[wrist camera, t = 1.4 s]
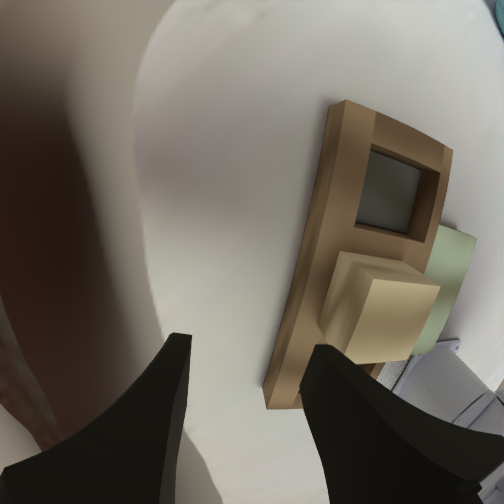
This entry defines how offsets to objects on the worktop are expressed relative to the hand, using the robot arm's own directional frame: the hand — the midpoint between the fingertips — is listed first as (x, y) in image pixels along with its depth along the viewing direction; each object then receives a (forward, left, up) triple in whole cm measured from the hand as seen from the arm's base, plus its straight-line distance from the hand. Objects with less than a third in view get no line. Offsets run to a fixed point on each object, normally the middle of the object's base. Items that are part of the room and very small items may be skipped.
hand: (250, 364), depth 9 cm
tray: (0, -11, -9) cm, 15 cm away
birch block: (0, -8, -7) cm, 11 cm away
